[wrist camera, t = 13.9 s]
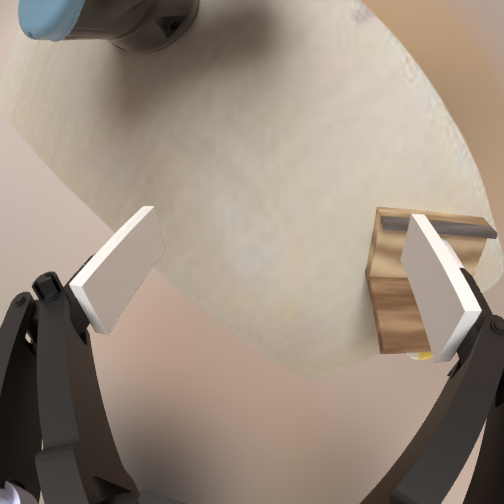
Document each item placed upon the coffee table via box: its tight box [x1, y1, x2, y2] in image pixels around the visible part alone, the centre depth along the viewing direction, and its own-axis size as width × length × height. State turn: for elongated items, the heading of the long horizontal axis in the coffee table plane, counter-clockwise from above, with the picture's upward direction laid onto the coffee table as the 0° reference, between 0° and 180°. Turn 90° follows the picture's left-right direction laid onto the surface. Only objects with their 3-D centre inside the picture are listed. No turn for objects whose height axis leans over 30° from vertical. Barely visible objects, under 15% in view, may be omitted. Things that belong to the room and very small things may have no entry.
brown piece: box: [365, 207, 497, 354], centre depth 36 cm, size 13×22×18 cm, turn 94°
